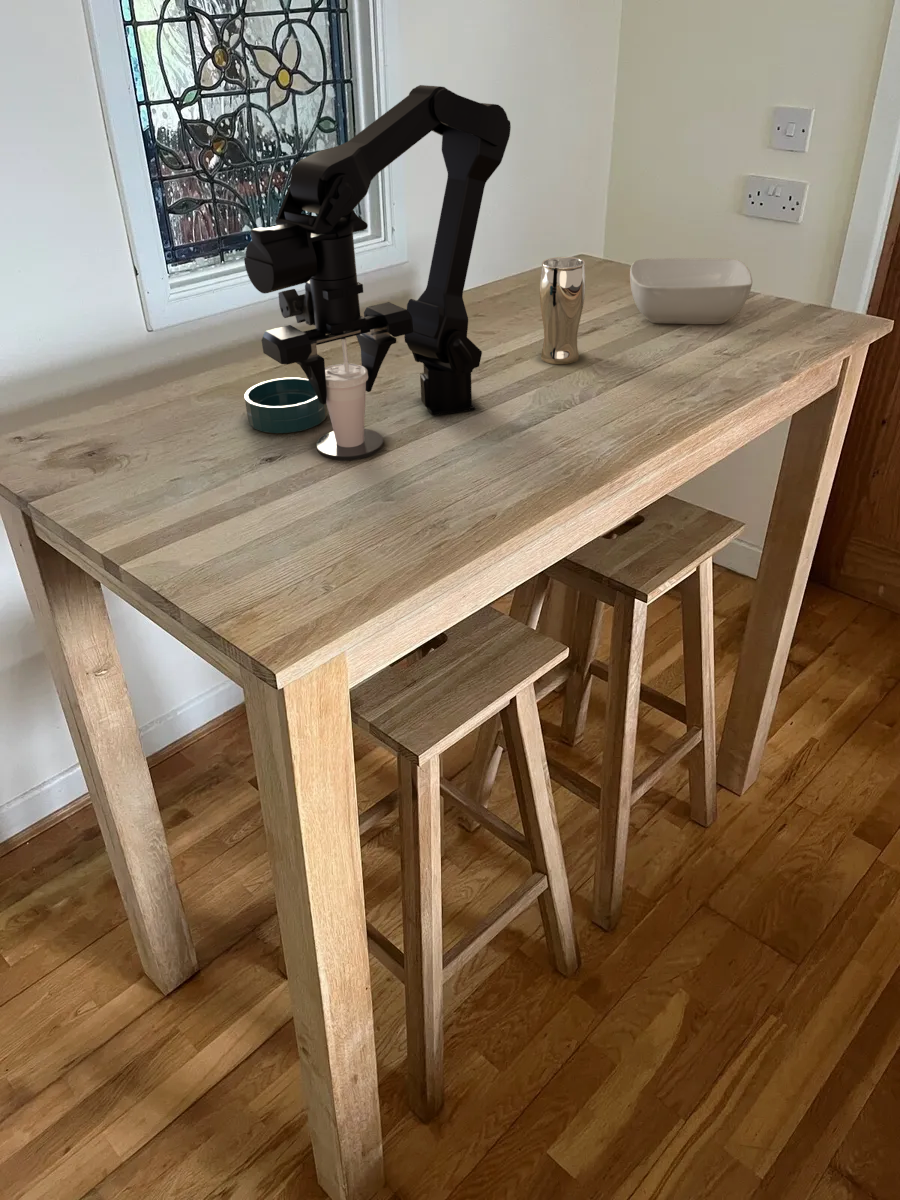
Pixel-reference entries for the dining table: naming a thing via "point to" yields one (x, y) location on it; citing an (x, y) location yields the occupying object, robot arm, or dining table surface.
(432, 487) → the dining table surface
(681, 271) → the bowl
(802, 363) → the dining table surface
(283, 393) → the teal faceted dish
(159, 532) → the dining table surface
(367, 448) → the coaster
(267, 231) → the robot arm
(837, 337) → the dining table surface
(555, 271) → the beer glass
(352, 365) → the smoothie
